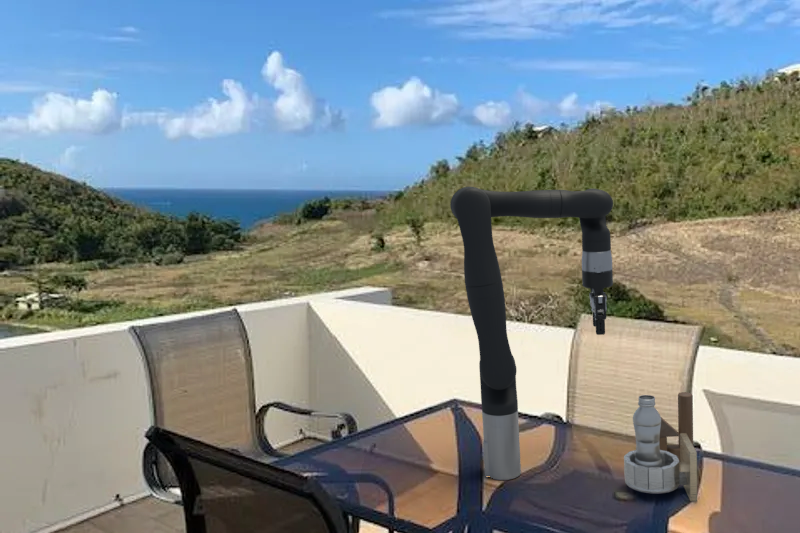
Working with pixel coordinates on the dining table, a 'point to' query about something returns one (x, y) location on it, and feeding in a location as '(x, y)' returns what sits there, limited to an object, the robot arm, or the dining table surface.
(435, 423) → the dining table surface
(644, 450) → the plastic bottle
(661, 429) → the wooden wedge with rod
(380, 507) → the dining table surface
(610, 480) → the dining table surface
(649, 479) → the ring
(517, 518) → the dining table surface
